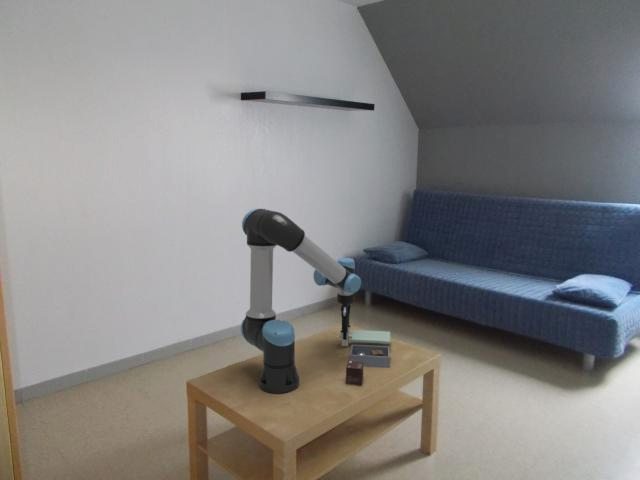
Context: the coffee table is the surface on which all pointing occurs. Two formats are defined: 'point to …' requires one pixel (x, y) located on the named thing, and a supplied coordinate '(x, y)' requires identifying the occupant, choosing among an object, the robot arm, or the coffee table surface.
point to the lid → (369, 336)
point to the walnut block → (376, 353)
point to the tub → (367, 358)
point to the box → (354, 373)
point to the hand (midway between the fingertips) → (345, 343)
